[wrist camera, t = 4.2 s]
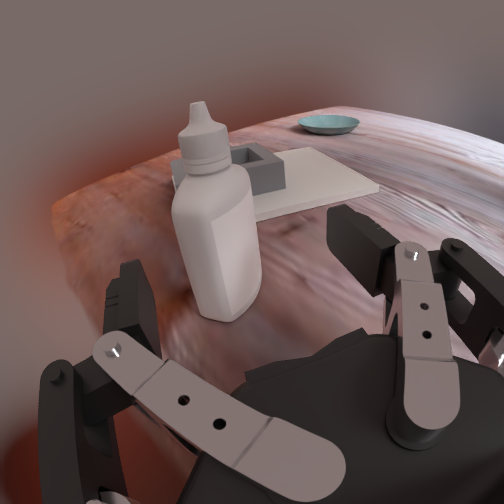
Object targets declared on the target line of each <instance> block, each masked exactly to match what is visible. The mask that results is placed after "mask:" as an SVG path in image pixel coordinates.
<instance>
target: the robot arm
mask: <svg viewBox="0 0 504 504" xmlns="http://www.w3.org/2000/svg"><path fill="white" fill-rule="evenodd" d="M326 239H327V245H328V247H329V250H330V251H331V252H332V254H333V255H334V256H335V257H336V258H337V259H338V260H339V261H340V262H341V263H342V264H343V265H344V266H345V267H346V268H347V270H348V271H349V272H350V273H351V274H352V275H353V276H354V277H355V278H356V279H357V280H358V282H359V283H360V284H361V285H362V286H363V287H364V288H365V289H366V290H367V291H368V293H369V294H370V295H371V296H372V297H375V296H377V295H380V294H382V293H383V294H384V295H385V298H384V308H383V333H382V334H372V335H368V334H367V333H366V332H365V330H364V329H363V328H360V329H357V330H355V331H353V332H351V333H348V334H346V335H344V336H341V337H339V338H336V339H335V340H334V341H332V342H331V343H330V344H328V345H327V346H325V347H324V348H323V349H321V350H320V351H318V352H317V353H316V354H314V355H313V356H310V357H306V358H299V359H292V360H285V361H278V362H274V363H271V364H268V365H265V366H262V367H259V368H256V369H253V370H250V371H247V372H244V373H245V376H246V380H247V381H246V382H245V383H243V384H242V385H240V386H239V387H238V388H236V389H235V390H234V391H233V392H232V393H231V394H230V395H228V394H226V393H224V392H222V391H221V390H219V389H217V388H216V387H214V386H212V385H211V384H209V383H207V382H206V381H204V380H203V379H201V378H199V377H198V376H196V375H195V374H193V373H192V372H190V371H189V370H187V369H185V368H184V367H182V366H181V365H179V364H178V363H176V362H175V361H173V360H171V359H167V360H166V361H165V362H164V361H163V360H162V354H161V347H160V339H159V332H158V324H157V315H156V306H155V300H154V296H153V292H152V289H151V287H150V285H149V282H148V280H147V277H146V275H145V272H144V270H143V267H142V265H141V262H140V260H139V259H136V260H132V261H129V262H126V263H122V264H121V265H120V277H119V278H116V279H112V281H111V282H110V284H109V286H108V287H107V289H106V301H105V311H104V325H103V336H102V337H100V338H99V339H98V340H97V342H96V343H95V345H94V347H93V353H92V354H93V355H92V356H90V357H89V358H87V359H86V360H84V361H82V362H80V363H78V364H76V365H75V366H72V365H71V364H70V362H68V361H66V360H56V361H54V362H52V363H51V364H49V365H48V366H47V367H46V368H45V370H44V371H43V373H42V376H41V380H40V391H39V410H38V454H39V472H40V483H41V493H42V501H43V504H141V503H140V502H138V501H136V500H134V499H131V498H129V497H128V493H127V489H126V484H125V480H124V475H123V472H122V466H121V461H120V456H119V450H118V445H117V439H116V433H115V427H114V419H113V415H115V414H117V413H118V412H120V411H122V410H124V409H126V408H128V407H129V406H131V405H133V406H134V407H136V408H137V409H138V410H139V411H140V412H141V413H142V414H143V415H145V416H146V417H147V418H148V419H149V420H150V421H152V422H153V423H154V424H155V425H156V426H158V427H159V428H160V429H161V430H162V431H164V432H165V433H166V434H167V435H168V436H170V437H171V438H172V439H173V440H174V441H175V442H177V443H178V444H179V445H180V446H182V447H183V448H184V449H185V450H187V451H188V452H189V453H191V454H192V455H194V456H195V457H196V458H197V460H196V462H195V465H194V467H193V469H192V471H191V473H190V475H189V478H188V480H187V482H186V484H185V486H184V488H183V491H182V493H181V495H180V497H179V499H178V501H177V503H176V504H504V276H503V275H501V274H500V273H499V272H498V271H497V270H496V269H495V268H494V267H493V266H492V265H490V264H489V263H488V262H487V261H486V260H485V259H484V258H482V257H481V256H480V255H479V254H478V253H477V252H475V251H474V250H473V249H472V248H471V247H469V246H468V245H467V244H466V243H464V242H463V241H461V240H458V239H454V238H447V239H445V240H443V241H442V244H441V248H440V250H435V251H427V250H426V249H425V248H424V247H423V246H421V245H420V244H418V243H415V242H409V241H406V242H400V241H399V240H397V239H396V238H395V237H394V236H393V235H391V234H390V233H389V232H388V231H386V230H385V229H384V228H382V227H381V226H380V225H379V224H377V223H375V221H373V220H372V219H371V218H370V217H368V216H366V215H363V214H361V213H358V212H355V211H354V210H353V209H351V208H350V207H349V206H347V205H346V204H342V205H338V206H334V207H330V208H328V210H327V237H326ZM461 281H463V282H464V283H465V284H466V285H467V286H468V287H469V288H470V289H471V290H472V291H473V292H474V294H475V304H474V306H473V305H472V304H471V303H470V302H469V301H468V300H467V299H466V298H465V297H464V296H463V295H462V294H461V293H460V292H459V291H458V288H459V286H460V283H461ZM448 324H449V325H450V327H451V328H452V329H453V330H454V331H455V332H456V334H457V335H458V336H459V337H460V338H461V340H462V341H463V342H464V343H465V345H466V346H467V347H468V348H469V350H470V351H471V352H472V353H473V355H474V356H475V357H476V358H477V360H478V361H479V364H478V363H474V362H471V361H468V360H465V359H462V358H459V357H456V356H453V355H452V349H451V341H450V333H449V325H448Z"/></svg>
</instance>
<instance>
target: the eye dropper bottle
mask: <svg viewBox="0 0 504 504" xmlns="http://www.w3.org/2000/svg"><path fill="white" fill-rule="evenodd" d="M178 140H179V145H180V150H181V155H182V160H183V165H184V169H185V172H186V173H187V175H186V176H185V178H184V179H183V181H182V182H181V184H180V185H179V187H178V189H177V191H176V193H175V196H174V199H173V202H172V208H171V214H172V220H173V224H174V228H175V232H176V236H177V240H178V243H179V247H180V250H181V254H182V257H183V261H184V264H185V267H186V271H187V274H188V277H189V280H190V284H191V287H192V290H193V293H194V296H195V299H196V302H197V305H198V309H199V311H200V314H201V315H202V316H204V317H206V318H209V319H213V320H217V321H222V322H232V321H234V320H236V319H237V318H238V317H240V316H241V315H242V314H243V313H244V312H245V311H246V310H247V309H248V308H249V307H250V306H251V304H252V303H253V302H254V300H255V298H256V297H257V294H258V292H259V290H260V286H261V281H262V268H261V259H260V251H259V243H258V235H257V227H256V219H255V211H254V203H253V196H252V189H251V182H250V177H249V174H248V172H247V171H246V169H245V168H243V167H242V166H240V165H237V164H231V163H232V159H231V153H230V146H229V139H228V133H227V127H226V126H225V125H224V124H221V123H217V122H215V121H213V120H212V119H211V117H210V115H209V112H208V110H207V107H206V104H205V102H204V101H202V102H195V103H192V104H190V122H189V125H188V126H187V128H185V129H184V130H183V131H181V132H180V133H179V134H178Z"/></svg>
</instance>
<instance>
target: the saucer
mask: <svg viewBox="0 0 504 504" xmlns="http://www.w3.org/2000/svg"><path fill="white" fill-rule="evenodd" d="M298 123H299V124H300V125H301V126H302V127H303V128H305V129H306V130H308V131H310V132H312V133H315V134H321V135H340V134H345V133H347V132H349V131H351V130H353V129H354V128H355V127H356V126H357V125H358V124H359V123H360V121H359V120H357V119H355V118H352V117H346V116H337V115H318V116H310V117H305V118H302V119H300V120H298Z"/></svg>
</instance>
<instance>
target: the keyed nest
mask: <svg viewBox="0 0 504 504" xmlns="http://www.w3.org/2000/svg"><path fill="white" fill-rule="evenodd" d="M230 153H231V159H232V163H231V164H237V165H240V166H242V167H243V168H245V169H246V171H247V172H248V174H249V177H250V182H251V189H252V196H253V203H254V211H255V219H256V222H259V221H263V220H267V219H271V218H274V217H278V216H282V215H286V214H290V213H294V212H298V211H302V210H306V209H311V208H315V207H319V206H323V205H327V204H331V203H335V202H340V201H344V200H348V199H352V198H356V197H361V196H365V195H369V194H374V193H378V192H379V187H380V185H378V184H377V183H375V182H373V181H371V180H370V179H368V178H366V177H365V176H363V175H361V174H359V173H358V172H356V171H354V170H352V169H351V168H349V167H347V166H345V165H343V164H342V163H340V162H338V161H336V160H334V159H332V158H330V157H329V156H327V155H325V154H323V153H321V152H319V151H317V150H315V149H313V148H311V147H306V148H299V149H293V150H288V151H282V152H276V153H271V152H270V151H268V150H267V149H265V148H264V147H262V146H261V145H259V144H258V143H250V144H245V145H240V146H235V147H230ZM170 164H171V168H172V173H173V176H172V180H173V184H174V189H175V193H176V191H177V189H178V187H179V185H180V184H181V182H182V181H183V179H184V178H185V176H186V175H187V173H186V172H185V169H184V165H183V160H182V159H178V160H174V161H170Z"/></svg>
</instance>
